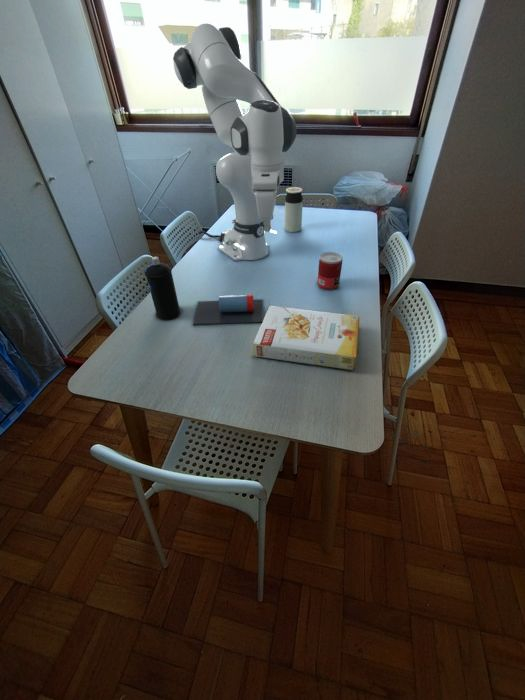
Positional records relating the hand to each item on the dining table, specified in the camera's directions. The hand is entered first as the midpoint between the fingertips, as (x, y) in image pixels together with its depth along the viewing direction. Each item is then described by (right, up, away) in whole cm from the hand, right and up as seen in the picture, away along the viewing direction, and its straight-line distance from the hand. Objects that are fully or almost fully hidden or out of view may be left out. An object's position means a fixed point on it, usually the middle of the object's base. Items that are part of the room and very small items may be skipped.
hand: (269, 224), depth 104 cm
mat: (-13, -25, +13) cm, 31 cm away
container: (-16, -22, +10) cm, 29 cm away
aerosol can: (-33, -25, +13) cm, 44 cm away
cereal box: (+11, -35, 0) cm, 37 cm away
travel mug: (+13, +21, +64) cm, 68 cm away
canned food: (+22, -14, +24) cm, 36 cm away
